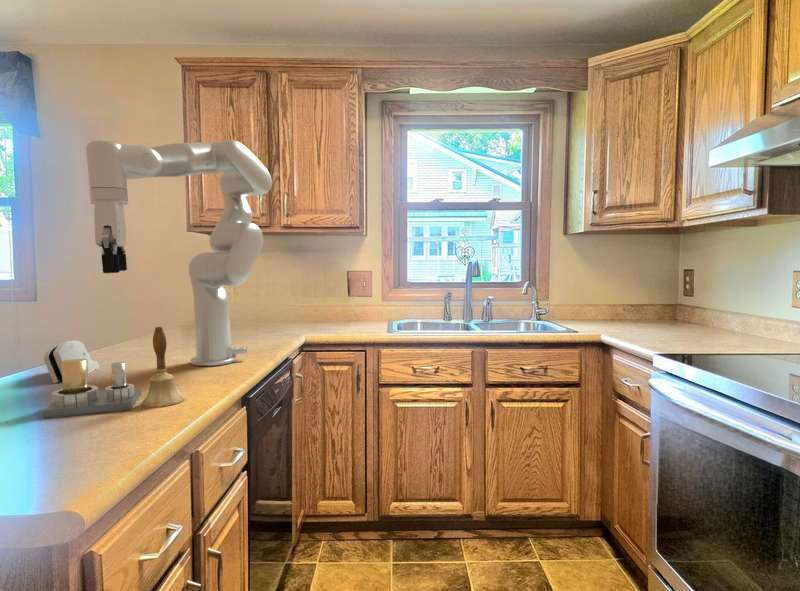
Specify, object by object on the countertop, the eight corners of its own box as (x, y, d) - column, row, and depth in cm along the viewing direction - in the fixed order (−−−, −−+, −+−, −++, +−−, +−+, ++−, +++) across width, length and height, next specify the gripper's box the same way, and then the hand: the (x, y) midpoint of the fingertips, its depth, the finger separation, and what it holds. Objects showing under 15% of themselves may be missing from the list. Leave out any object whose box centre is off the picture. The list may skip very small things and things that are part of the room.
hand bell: (141, 409, 100) (137, 331, 99) (141, 399, 108) (137, 325, 106) (186, 403, 104) (183, 327, 103) (183, 394, 112) (180, 323, 110)
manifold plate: (141, 394, 112) (139, 356, 111) (131, 409, 100) (129, 368, 100) (62, 401, 107) (60, 361, 106) (43, 418, 95) (40, 374, 95)
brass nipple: (91, 396, 105) (89, 358, 105) (86, 401, 101) (84, 362, 101) (66, 397, 104) (65, 359, 103) (60, 403, 99) (59, 363, 99)
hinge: (75, 381, 123) (57, 344, 122) (55, 389, 123) (37, 351, 121) (100, 367, 140) (85, 334, 138) (83, 373, 139) (67, 340, 137)
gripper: (99, 200, 122) (105, 270, 124) (80, 193, 106) (88, 274, 108) (133, 200, 124) (139, 269, 126) (120, 194, 108) (127, 273, 110)
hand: (115, 271), depth 117 cm, fingers open, 9 cm apart
